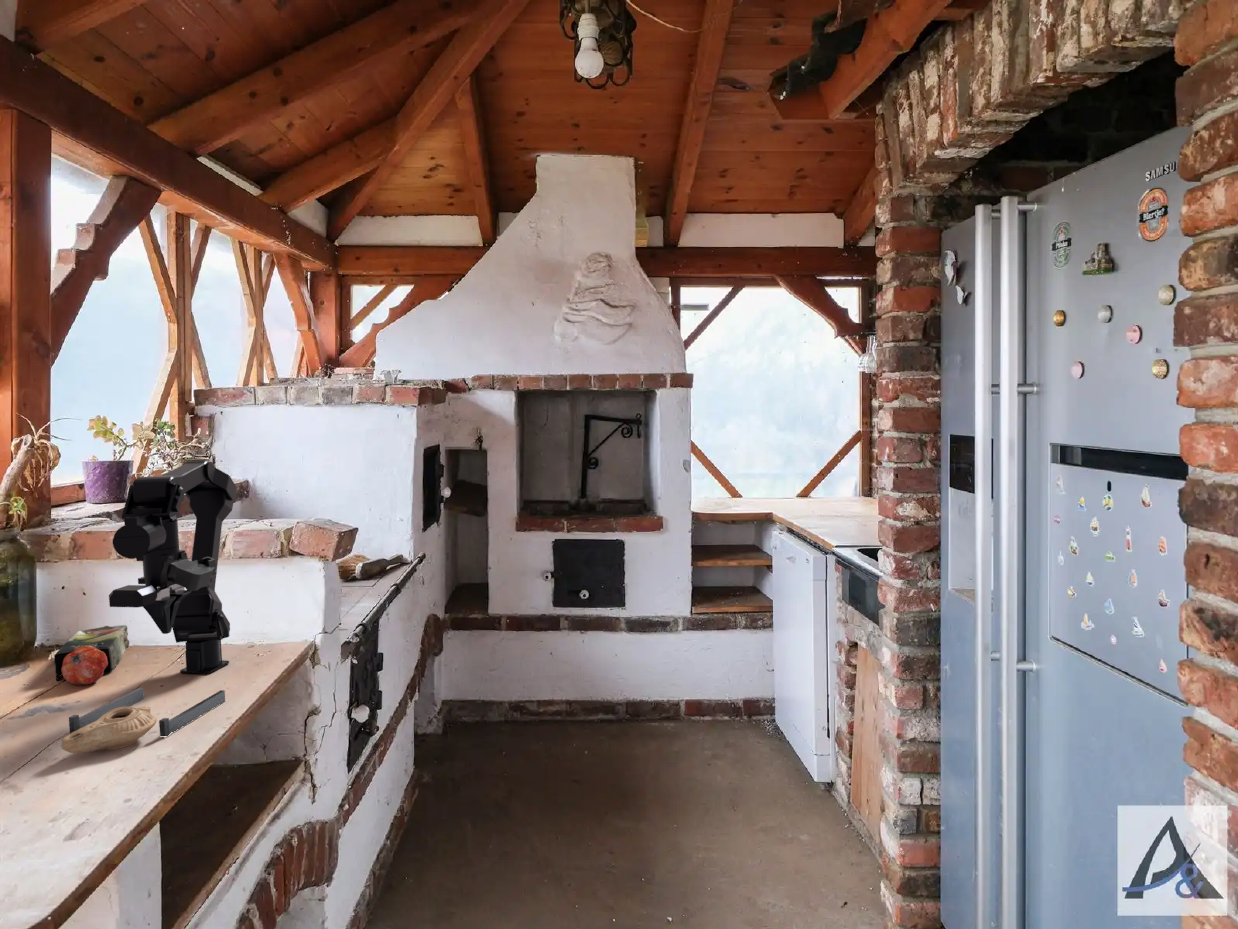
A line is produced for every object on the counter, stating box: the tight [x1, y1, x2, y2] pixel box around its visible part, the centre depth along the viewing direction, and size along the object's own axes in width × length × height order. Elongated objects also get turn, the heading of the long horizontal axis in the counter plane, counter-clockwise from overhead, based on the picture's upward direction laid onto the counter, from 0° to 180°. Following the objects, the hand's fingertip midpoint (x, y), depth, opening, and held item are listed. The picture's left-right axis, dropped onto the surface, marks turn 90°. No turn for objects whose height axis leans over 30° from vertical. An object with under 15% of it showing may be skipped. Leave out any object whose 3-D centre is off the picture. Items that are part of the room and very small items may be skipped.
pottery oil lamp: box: [60, 705, 158, 754], centre depth 117 cm, size 9×12×7 cm
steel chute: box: [68, 687, 226, 737], centre depth 129 cm, size 15×17×3 cm
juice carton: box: [53, 624, 130, 682], centre depth 158 cm, size 20×10×6 cm, turn 24°
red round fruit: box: [61, 645, 108, 686], centre depth 146 cm, size 7×7×10 cm
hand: (166, 633), depth 137 cm, fingers closed
